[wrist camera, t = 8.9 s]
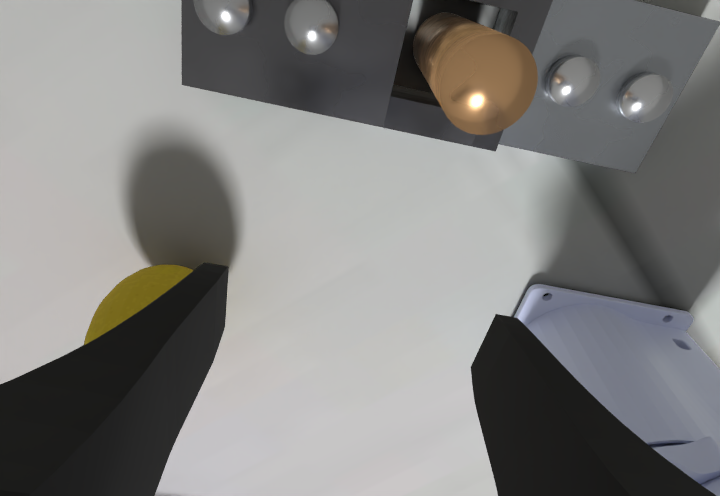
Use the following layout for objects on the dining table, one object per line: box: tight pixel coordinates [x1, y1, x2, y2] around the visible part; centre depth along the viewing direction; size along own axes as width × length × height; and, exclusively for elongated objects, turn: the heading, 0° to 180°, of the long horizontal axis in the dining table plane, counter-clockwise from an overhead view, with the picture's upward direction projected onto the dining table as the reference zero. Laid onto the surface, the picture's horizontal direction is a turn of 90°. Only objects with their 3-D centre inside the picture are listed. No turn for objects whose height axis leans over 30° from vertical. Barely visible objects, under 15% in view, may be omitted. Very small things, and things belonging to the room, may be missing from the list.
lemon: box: [84, 265, 194, 345], centre depth 21 cm, size 6×6×8 cm
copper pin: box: [413, 12, 538, 135], centre depth 14 cm, size 2×2×8 cm
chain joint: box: [182, 0, 720, 173], centre depth 17 cm, size 19×6×3 cm, turn 78°
